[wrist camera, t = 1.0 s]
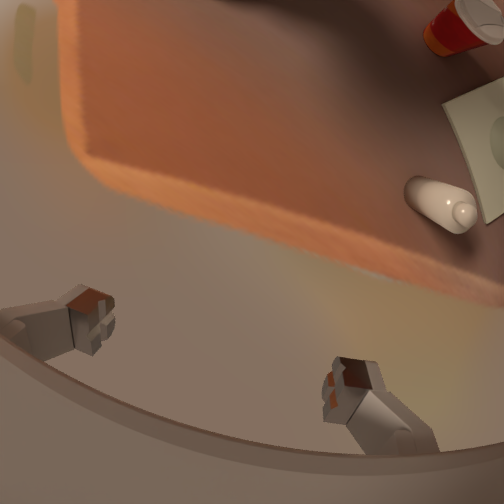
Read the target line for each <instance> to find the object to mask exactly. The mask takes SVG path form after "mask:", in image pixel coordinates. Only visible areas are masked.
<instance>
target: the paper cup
mask: <svg viewBox="0 0 504 504" xmlns="http://www.w3.org/2000/svg"><path fill="white" fill-rule="evenodd" d="M501 14H502V13H501V11H500V9H499V8H498V7H497V5H496V4H495V3H494V2H493V1H492V0H453V1H452V2H451V3H450V4H449V5H448V6H447V7H446V8H444V9H443V10H442V11H441V12H440V13H439V14H438V15H437V16H436V17H435V18H434V19H433V20H432V21H431V22H430V23H429V24H428V25H427V27H426V28H425V29H424V32H423V37H424V41H425V43H426V45H427V46H428V47H429V49H430V50H431V51H433V52H434V53H435V54H437V55H439V56H442V57H447V56H451V55H455V54H458V53H461V52H464V51H467V50H471V49H474V48H477V47H481V46H484V45H487V44H492V45H497V44H500V43H501V42H502V41H503V39H504V18H503V16H502V15H501Z"/></svg>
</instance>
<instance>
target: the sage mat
mask: <svg viewBox="0 0 504 504" xmlns="http://www.w3.org/2000/svg"><path fill="white" fill-rule="evenodd" d="M441 105H442V107H443V109H444V111H445V113H446V115H447V118H448V120H449V122H450V124H451V127H452V129H453V131H454V133H455V136H456V138H457V141H458V143H459V146H460V148H461V151H462V154H463V156H464V159H465V162H466V164H467V167H468V170H469V173H470V176H471V179H472V182H473V185H474V189H475V192H476V195H477V199H478V202H479V206H480V210H481V213H482V217H483V221H484V223H486V224H488V223H490V222H491V221H493V220H494V219H495V218H497V217H498V216H500V215H501V214H503V213H504V77H502V78H500V79H497V80H495V81H493V82H490V83H488V84H486V85H483V86H481V87H479V88H476V89H474V90H472V91H470V92H467V93H465V94H463V95H461V96H458V97H456V98H454V99H452V100H450V101H447V102H445V103H443V104H441Z"/></svg>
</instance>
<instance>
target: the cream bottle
mask: <svg viewBox="0 0 504 504" xmlns="http://www.w3.org/2000/svg"><path fill="white" fill-rule="evenodd" d="M404 199H405V201H406V203H407V204H408V206H410V207H411V208H412V209H414V210H416V211H418V212H419V213H421V214H423V215H424V216H426V217H428V218H429V219H431V220H432V221H434V222H436V223H437V224H439V225H441V226H442V227H444V228H445V229H447V230H448V231H450V232H452V233H454V234H461V233H464V232H466V231H467V230H468V229H469V228H470V227H472V226H473V225H474V224H475V222H476V220H477V210H476V202H475V199H474V197H473V196H472V195H471V193H469V192H468V191H466V190H464V189H461V188H458V187H455V186H452V185H449V184H446V183H443V182H439V181H436V180H433V179H430V178H426V177H423V176H414V177H412V178H411V179H409V180H408V182H407V183H406V185H405V188H404Z"/></svg>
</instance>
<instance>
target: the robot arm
mask: <svg viewBox="0 0 504 504" xmlns="http://www.w3.org/2000/svg"><path fill="white" fill-rule="evenodd" d="M114 303H115V302H114V298H113V297H112V296H110V295H108V294H105V293H103V292H100V291H98V290H95V289H92V288H90V287H87V286H84V285H82V284H79V285H77V286H75V287H74V288H73V289H71V290H70V291H68V292H67V293H66V294H64V295H63V296H61V297H60V298H59V299H57V300H56V301H53V300H49V301H44V302H38V303H33V304H26V305H21V306H15V307H9V308H3V309H1V310H0V504H504V442H500V443H497V444H492V445H487V446H481V447H476V448H469V449H462V450H455V451H446V452H440V450H439V448H438V445H437V442H436V439H435V436H434V433H433V431H432V429H431V428H430V427H429V426H428V425H427V424H426V423H424V422H423V421H422V420H421V419H420V418H419V417H418V416H416V414H414V413H413V412H412V411H411V410H410V409H409V408H408V407H407V406H405V405H404V404H403V403H402V402H401V401H400V400H399V399H398V398H397V397H395V396H394V395H393V394H392V393H391V392H387V391H386V388H385V385H384V381H383V378H382V375H381V372H380V369H379V366H378V364H377V362H375V361H366V360H357V359H350V358H344V357H338V356H337V357H336V358H335V360H334V361H333V364H332V372H330V373H329V374H327V376H326V378H325V380H324V383H323V387H322V399H323V400H324V401H325V404H324V406H323V419H324V422H329V423H336V424H343V425H346V427H347V428H348V430H349V431H350V432H351V434H352V435H353V437H354V438H355V440H356V441H357V443H358V444H359V445H360V447H361V448H362V450H363V451H364V452H365V454H366V455H359V454H342V453H328V452H318V451H309V450H300V449H293V448H287V447H280V446H274V445H268V444H263V443H258V442H253V441H248V440H243V439H239V438H235V437H230V436H226V435H222V434H218V433H215V432H211V431H207V430H203V429H200V428H197V427H193V426H190V425H187V424H183V423H180V422H177V421H174V420H171V419H168V418H165V417H162V416H159V415H156V414H154V413H151V412H148V411H146V410H143V409H141V408H138V407H135V406H133V405H130V404H128V403H126V402H123V401H121V400H118V399H116V398H114V397H112V396H109V395H107V394H105V393H102V392H100V391H98V390H96V389H94V388H92V387H90V386H88V385H86V384H84V383H82V382H80V381H78V380H76V379H74V378H72V377H70V376H68V375H66V374H64V373H63V372H61V371H58V370H57V369H55V368H54V367H52V366H50V365H48V364H47V363H45V362H44V361H46V360H49V359H51V358H54V357H56V356H59V355H61V354H64V353H66V352H69V351H71V350H74V348H75V349H77V350H79V351H82V352H84V353H86V354H89V355H91V356H93V355H94V354H95V353H96V352H97V351H98V350H99V348H100V347H101V346H102V345H101V341H104V340H107V339H108V338H109V337H110V336H111V334H112V332H113V330H114V326H115V316H114V314H113V313H112V309H113V308H114V307H115V304H114Z"/></svg>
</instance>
